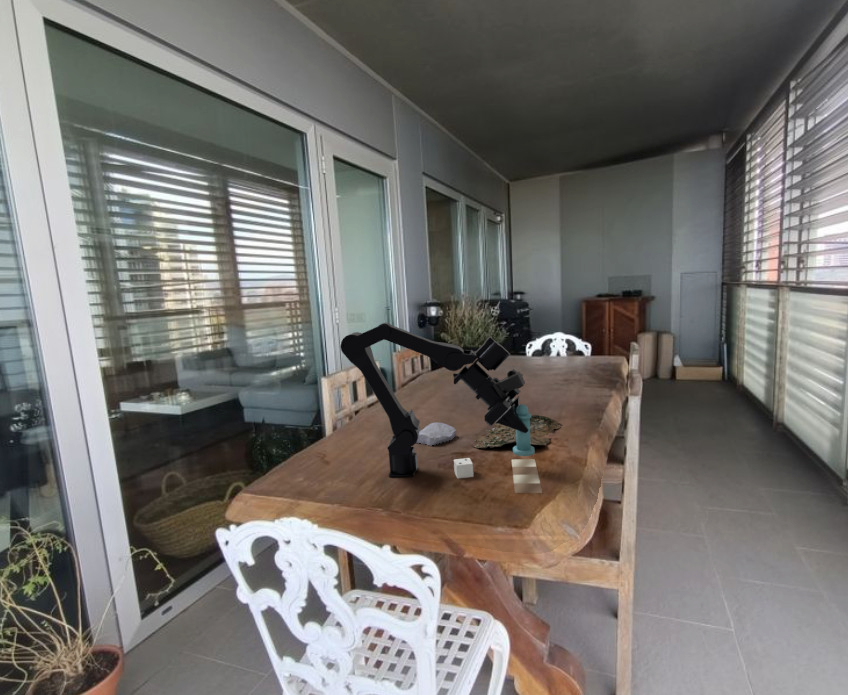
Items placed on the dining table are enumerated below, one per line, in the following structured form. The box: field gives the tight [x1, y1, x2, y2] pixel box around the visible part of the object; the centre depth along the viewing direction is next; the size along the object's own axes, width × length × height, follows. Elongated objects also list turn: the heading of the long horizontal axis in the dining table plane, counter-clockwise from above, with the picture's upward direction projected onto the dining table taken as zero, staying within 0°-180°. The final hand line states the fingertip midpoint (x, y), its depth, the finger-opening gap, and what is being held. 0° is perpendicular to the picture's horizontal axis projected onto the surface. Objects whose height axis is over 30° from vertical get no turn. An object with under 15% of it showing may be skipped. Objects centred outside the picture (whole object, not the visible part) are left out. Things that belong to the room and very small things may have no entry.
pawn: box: [512, 403, 536, 457], centre depth 114 cm, size 5×5×12 cm
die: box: [453, 457, 474, 479], centre depth 116 cm, size 4×4×4 cm
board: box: [511, 458, 543, 494], centre depth 113 cm, size 6×20×1 cm, turn 172°
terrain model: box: [472, 414, 563, 449], centre depth 145 cm, size 31×25×5 cm
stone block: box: [415, 421, 457, 447], centre depth 146 cm, size 12×5×10 cm
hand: (528, 429), depth 114 cm, fingers closed on pawn, 4 cm apart
